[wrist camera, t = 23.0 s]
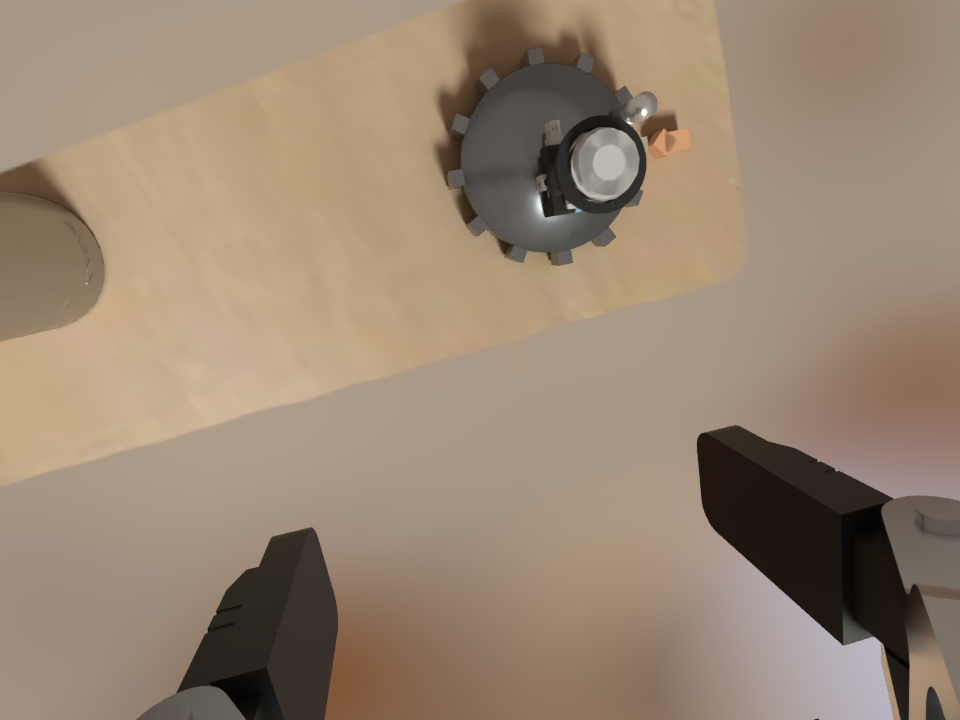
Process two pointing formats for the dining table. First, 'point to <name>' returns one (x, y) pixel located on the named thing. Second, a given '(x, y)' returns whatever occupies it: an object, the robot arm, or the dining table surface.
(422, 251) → the dining table surface
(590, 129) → the push button
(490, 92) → the sprocket wheel
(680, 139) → the pointer block
